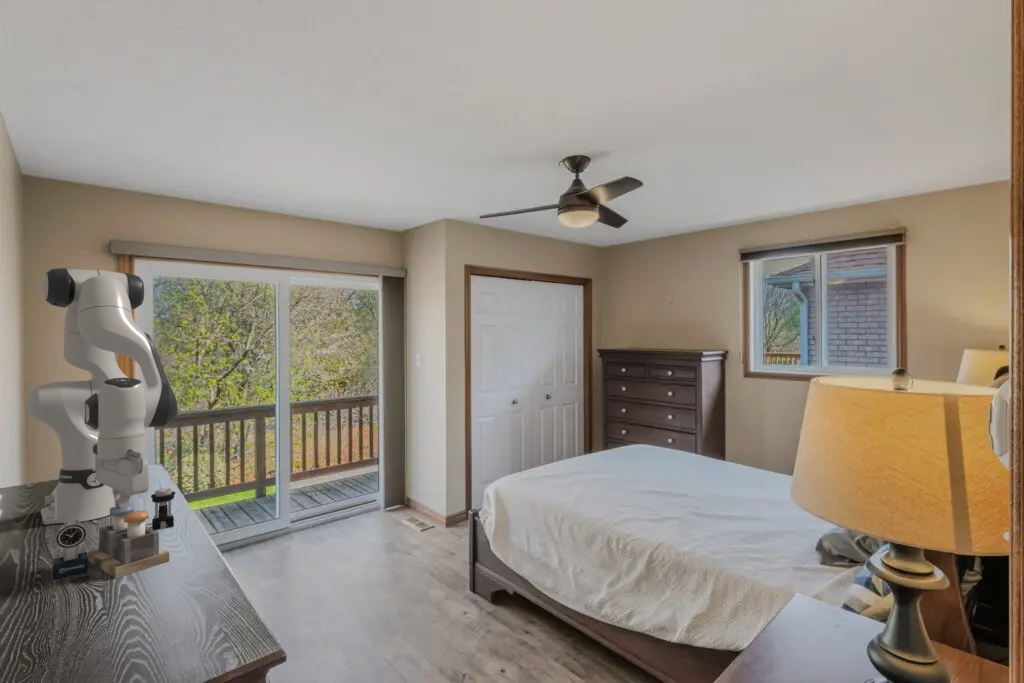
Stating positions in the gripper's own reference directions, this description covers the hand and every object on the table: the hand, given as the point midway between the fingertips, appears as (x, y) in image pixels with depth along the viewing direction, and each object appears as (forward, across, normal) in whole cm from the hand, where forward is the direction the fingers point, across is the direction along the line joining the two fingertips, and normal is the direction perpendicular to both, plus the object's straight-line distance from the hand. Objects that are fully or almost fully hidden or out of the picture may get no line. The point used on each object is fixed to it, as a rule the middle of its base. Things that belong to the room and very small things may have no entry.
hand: (121, 507), depth 115 cm
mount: (+12, -4, 0) cm, 12 cm away
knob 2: (+9, -8, 0) cm, 12 cm away
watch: (+12, -1, +9) cm, 15 cm away
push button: (+12, +13, -13) cm, 22 cm away
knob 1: (+9, 0, 0) cm, 9 cm away
